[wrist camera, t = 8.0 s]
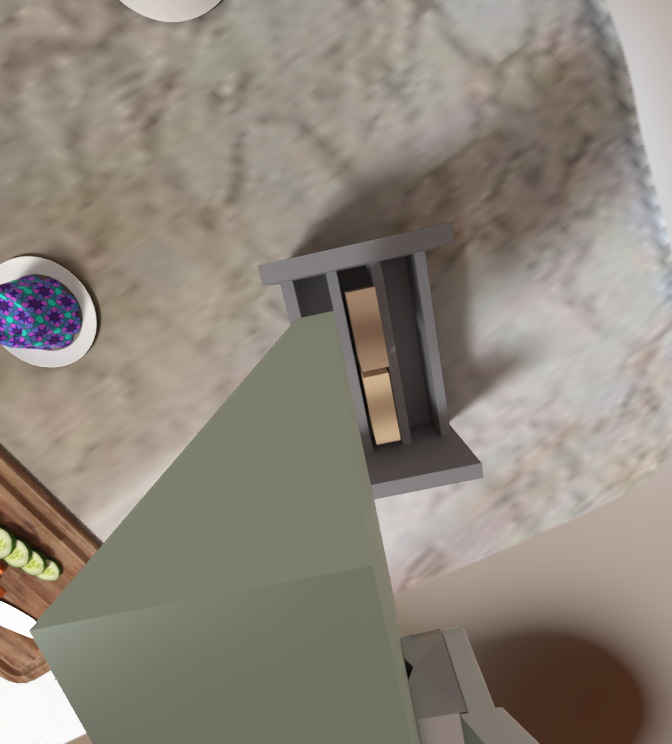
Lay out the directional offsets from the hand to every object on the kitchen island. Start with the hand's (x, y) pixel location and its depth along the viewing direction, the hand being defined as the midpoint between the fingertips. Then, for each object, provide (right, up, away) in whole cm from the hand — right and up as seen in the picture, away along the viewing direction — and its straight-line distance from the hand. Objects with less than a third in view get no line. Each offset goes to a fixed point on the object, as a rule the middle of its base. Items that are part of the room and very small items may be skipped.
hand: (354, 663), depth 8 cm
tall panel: (0, +4, +15) cm, 16 cm away
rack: (+3, +9, +32) cm, 33 cm away
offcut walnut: (+2, +13, +29) cm, 32 cm away
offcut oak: (+4, +5, +31) cm, 32 cm away
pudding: (-33, +14, +31) cm, 47 cm away
